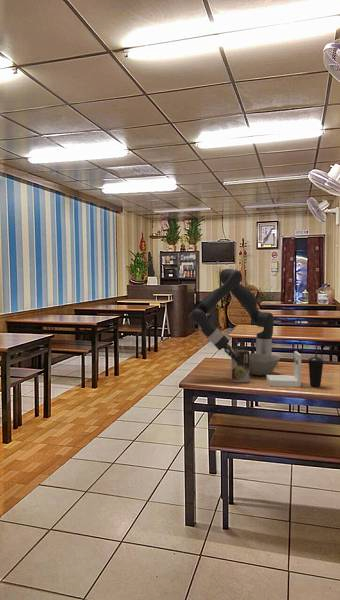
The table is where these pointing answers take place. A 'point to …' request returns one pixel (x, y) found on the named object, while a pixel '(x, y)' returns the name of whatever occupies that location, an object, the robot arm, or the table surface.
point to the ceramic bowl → (262, 363)
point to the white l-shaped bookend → (286, 379)
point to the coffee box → (240, 367)
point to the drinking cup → (315, 370)
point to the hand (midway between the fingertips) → (239, 361)
